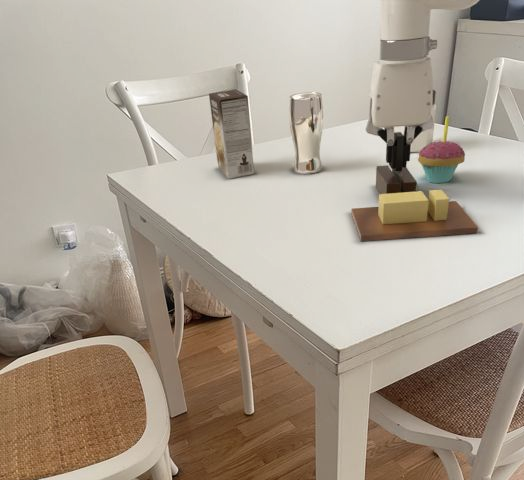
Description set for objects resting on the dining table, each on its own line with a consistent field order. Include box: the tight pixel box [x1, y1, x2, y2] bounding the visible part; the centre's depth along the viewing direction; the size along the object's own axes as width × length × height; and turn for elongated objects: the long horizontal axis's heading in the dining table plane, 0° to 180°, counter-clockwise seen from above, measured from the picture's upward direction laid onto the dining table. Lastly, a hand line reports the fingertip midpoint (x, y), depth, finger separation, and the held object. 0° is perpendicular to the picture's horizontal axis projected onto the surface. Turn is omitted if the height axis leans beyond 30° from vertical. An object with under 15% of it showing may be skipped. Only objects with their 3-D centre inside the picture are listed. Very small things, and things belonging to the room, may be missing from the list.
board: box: [350, 200, 479, 242], centre depth 89 cm, size 18×12×1 cm, turn 89°
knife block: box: [375, 164, 418, 195], centre depth 99 cm, size 5×11×4 cm, turn 179°
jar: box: [394, 89, 437, 153], centre depth 122 cm, size 9×8×12 cm
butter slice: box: [428, 189, 450, 221], centre depth 87 cm, size 2×4×4 cm, turn 179°
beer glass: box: [288, 91, 324, 175], centre depth 114 cm, size 7×7×15 cm
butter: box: [377, 190, 429, 224], centre depth 88 cm, size 7×4×4 cm, turn 90°
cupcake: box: [417, 111, 466, 184], centre depth 102 cm, size 9×8×12 cm
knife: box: [391, 132, 404, 193], centre depth 97 cm, size 1×7×10 cm, turn 0°
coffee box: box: [208, 89, 255, 180], centre depth 117 cm, size 9×6×16 cm
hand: (397, 165), depth 97 cm, fingers closed on knife, 1 cm apart
